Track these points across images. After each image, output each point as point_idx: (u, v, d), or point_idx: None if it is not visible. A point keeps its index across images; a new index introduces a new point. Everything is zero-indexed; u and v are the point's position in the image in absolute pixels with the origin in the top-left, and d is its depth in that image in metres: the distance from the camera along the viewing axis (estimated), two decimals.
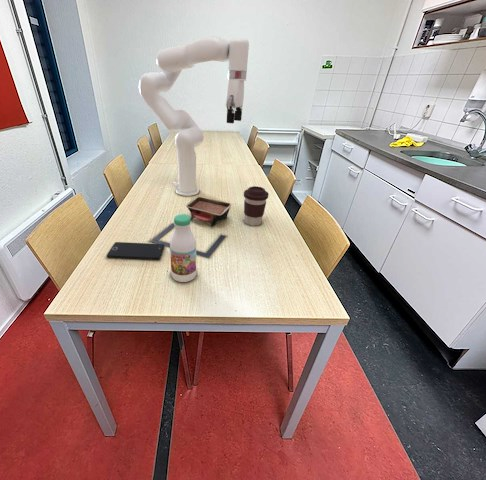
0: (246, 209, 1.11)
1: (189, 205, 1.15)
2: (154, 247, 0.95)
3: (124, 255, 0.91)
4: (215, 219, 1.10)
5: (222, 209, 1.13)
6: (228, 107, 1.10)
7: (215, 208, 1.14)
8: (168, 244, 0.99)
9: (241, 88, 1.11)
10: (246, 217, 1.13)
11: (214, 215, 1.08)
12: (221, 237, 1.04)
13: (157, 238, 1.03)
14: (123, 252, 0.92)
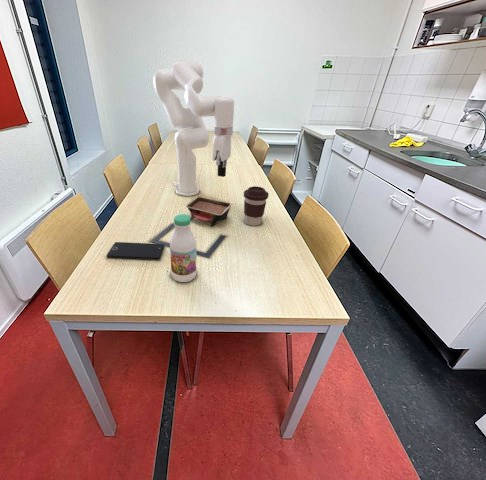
0: (246, 209, 1.11)
1: (189, 205, 1.15)
2: (154, 247, 0.95)
3: (124, 255, 0.91)
4: (215, 219, 1.10)
5: (222, 209, 1.13)
6: (219, 164, 1.14)
7: (215, 208, 1.14)
8: (168, 244, 0.99)
9: (227, 143, 1.10)
10: (246, 217, 1.13)
11: (214, 215, 1.08)
12: (221, 237, 1.04)
13: (157, 238, 1.03)
14: (123, 252, 0.92)
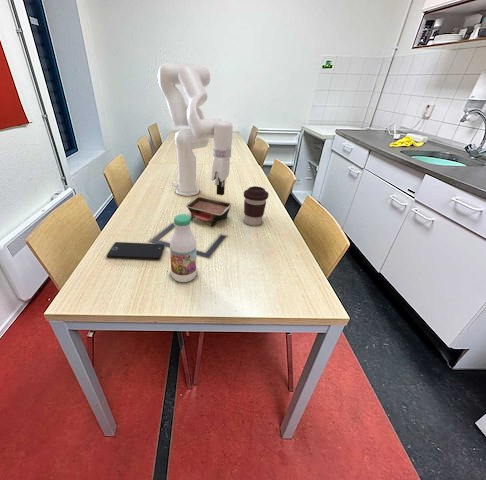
0: (246, 209, 1.11)
1: (189, 205, 1.15)
2: (154, 247, 0.95)
3: (124, 255, 0.91)
4: (215, 219, 1.10)
5: (222, 209, 1.13)
6: (217, 184, 1.18)
7: (215, 208, 1.14)
8: (168, 244, 0.99)
9: (226, 164, 1.15)
10: (246, 217, 1.13)
11: (214, 215, 1.08)
12: (221, 237, 1.04)
13: (157, 238, 1.03)
14: (123, 252, 0.92)
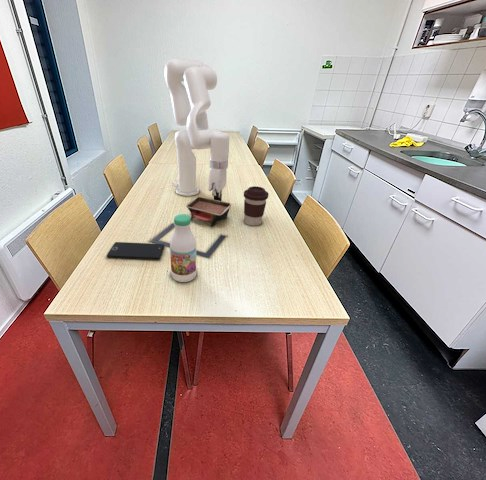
0: (246, 209, 1.11)
1: (189, 205, 1.15)
2: (154, 247, 0.95)
3: (124, 255, 0.91)
4: (215, 219, 1.10)
5: (222, 209, 1.13)
6: None
7: (215, 208, 1.14)
8: (168, 244, 0.99)
9: (223, 175, 1.14)
10: (246, 217, 1.13)
11: (214, 215, 1.08)
12: (221, 237, 1.04)
13: (157, 238, 1.03)
14: (123, 252, 0.92)
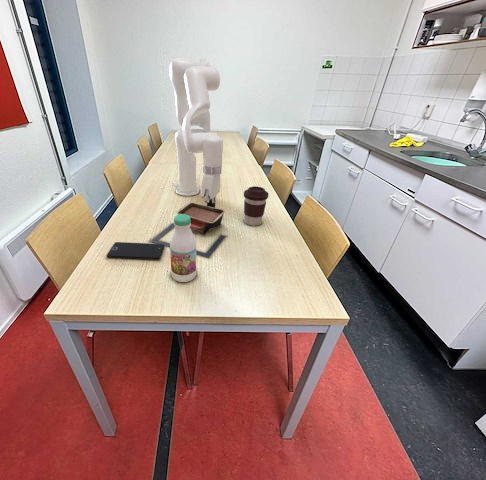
0: (246, 209, 1.11)
1: (181, 212, 1.09)
2: (154, 247, 0.95)
3: (124, 255, 0.91)
4: (207, 227, 1.04)
5: (215, 216, 1.07)
6: None
7: (208, 215, 1.08)
8: (168, 244, 0.99)
9: (216, 181, 1.09)
10: (246, 217, 1.13)
11: (206, 223, 1.02)
12: (221, 237, 1.04)
13: (157, 238, 1.03)
14: (123, 252, 0.92)
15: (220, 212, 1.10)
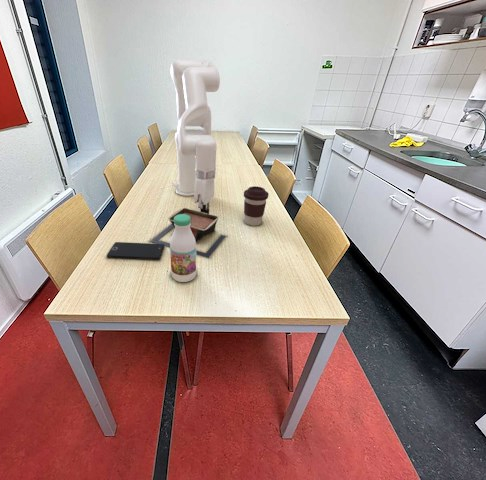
0: (246, 209, 1.11)
1: (173, 218, 1.05)
2: (154, 247, 0.95)
3: (124, 255, 0.91)
4: (199, 234, 0.99)
5: (208, 223, 1.02)
6: None
7: (201, 221, 1.03)
8: (168, 244, 0.99)
9: (210, 185, 1.04)
10: (246, 217, 1.13)
11: (198, 230, 0.97)
12: (221, 237, 1.04)
13: (157, 238, 1.03)
14: (123, 252, 0.92)
15: (214, 218, 1.05)
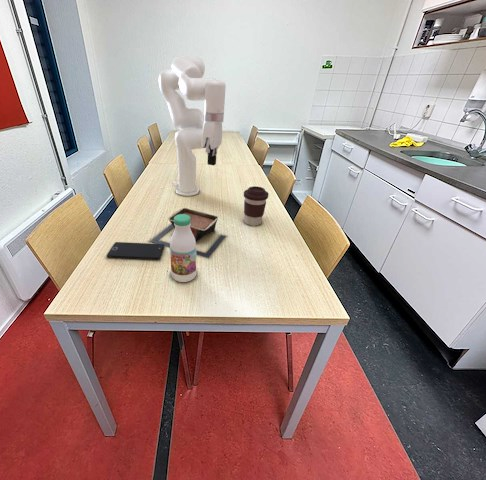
0: (246, 209, 1.11)
1: (172, 218, 1.05)
2: (154, 247, 0.95)
3: (124, 255, 0.91)
4: (199, 234, 0.99)
5: (208, 223, 1.02)
6: (208, 152, 1.09)
7: (201, 221, 1.03)
8: (168, 244, 0.99)
9: (218, 130, 1.05)
10: (246, 217, 1.13)
11: (198, 230, 0.97)
12: (221, 237, 1.04)
13: (157, 238, 1.03)
14: (123, 252, 0.92)
15: (213, 218, 1.05)
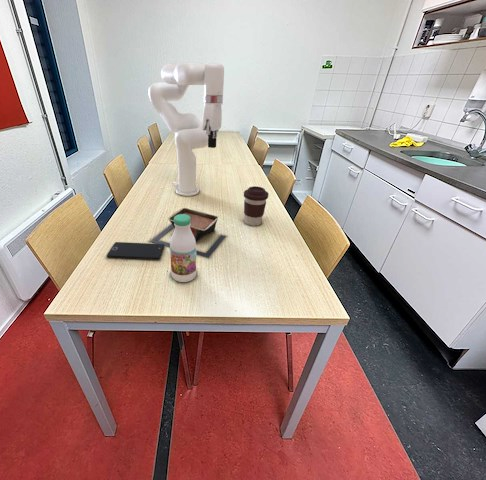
0: (246, 209, 1.11)
1: (172, 218, 1.05)
2: (154, 247, 0.95)
3: (124, 255, 0.91)
4: (199, 234, 0.99)
5: (208, 223, 1.02)
6: (209, 134, 1.13)
7: (201, 221, 1.03)
8: (168, 244, 0.99)
9: (218, 112, 1.09)
10: (246, 217, 1.13)
11: (198, 230, 0.97)
12: (221, 237, 1.04)
13: (157, 238, 1.03)
14: (123, 252, 0.92)
15: (213, 218, 1.05)
